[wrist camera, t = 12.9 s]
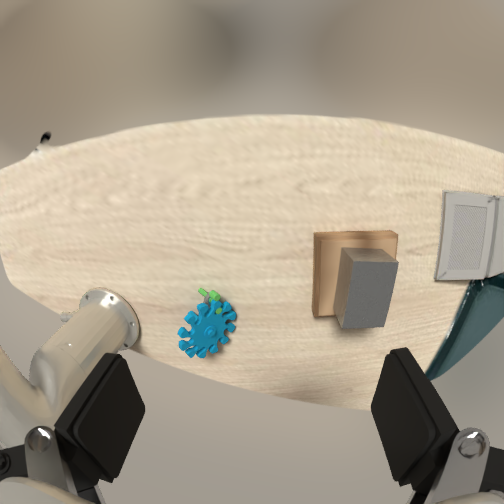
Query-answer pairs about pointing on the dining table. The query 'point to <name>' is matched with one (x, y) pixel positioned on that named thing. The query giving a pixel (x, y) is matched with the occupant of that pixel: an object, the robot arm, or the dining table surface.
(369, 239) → the stand
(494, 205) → the grey folded flat piece
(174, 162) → the dining table surface
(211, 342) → the gear
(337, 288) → the grey rectangular block
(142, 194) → the dining table surface
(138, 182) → the dining table surface
